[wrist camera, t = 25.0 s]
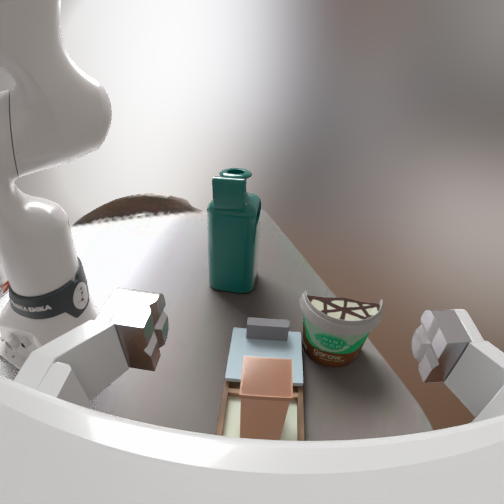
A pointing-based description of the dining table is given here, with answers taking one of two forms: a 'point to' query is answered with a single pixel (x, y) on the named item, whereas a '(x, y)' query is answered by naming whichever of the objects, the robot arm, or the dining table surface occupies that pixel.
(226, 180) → the green bottle
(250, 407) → the canister
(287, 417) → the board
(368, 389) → the dining table surface
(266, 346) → the cover
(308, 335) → the food container
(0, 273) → the french press
